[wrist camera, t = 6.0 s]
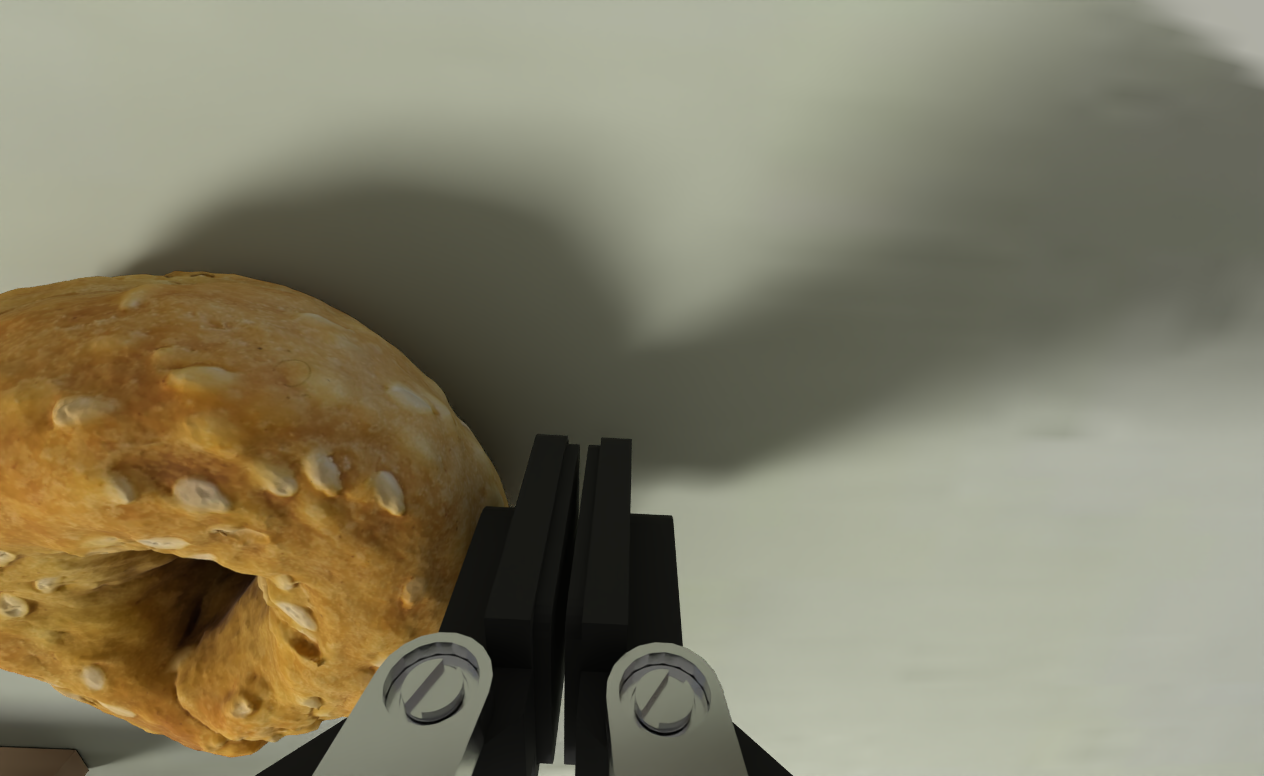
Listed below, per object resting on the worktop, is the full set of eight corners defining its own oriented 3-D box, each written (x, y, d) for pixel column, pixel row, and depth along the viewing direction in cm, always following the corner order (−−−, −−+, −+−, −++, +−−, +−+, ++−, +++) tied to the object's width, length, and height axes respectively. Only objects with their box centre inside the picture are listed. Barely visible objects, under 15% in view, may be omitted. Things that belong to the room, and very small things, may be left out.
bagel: (-85, 461, 12) (-447, 660, 8) (223, 98, 9) (-106, 121, 5) (306, 696, 16) (194, 917, 12) (622, 493, 13) (620, 694, 9)
